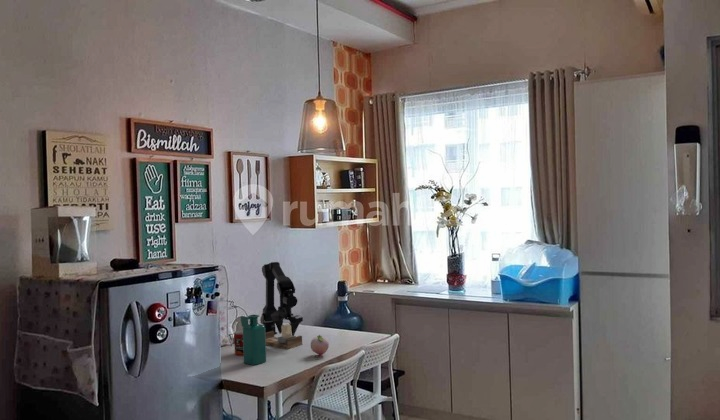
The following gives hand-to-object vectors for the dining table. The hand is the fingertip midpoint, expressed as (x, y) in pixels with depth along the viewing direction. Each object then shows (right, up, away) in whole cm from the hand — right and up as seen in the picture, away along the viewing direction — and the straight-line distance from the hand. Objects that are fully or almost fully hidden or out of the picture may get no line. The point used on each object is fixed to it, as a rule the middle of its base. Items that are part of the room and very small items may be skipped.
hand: (286, 334), depth 304 cm
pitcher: (-11, -7, -30) cm, 33 cm away
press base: (-4, -6, +3) cm, 7 cm away
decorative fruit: (+18, -6, -22) cm, 29 cm away
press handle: (0, -3, 0) cm, 3 cm away
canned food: (-20, -7, -14) cm, 25 cm away
